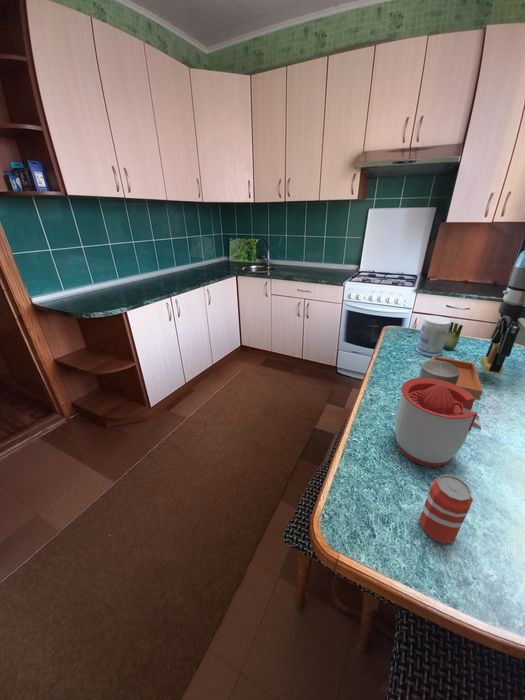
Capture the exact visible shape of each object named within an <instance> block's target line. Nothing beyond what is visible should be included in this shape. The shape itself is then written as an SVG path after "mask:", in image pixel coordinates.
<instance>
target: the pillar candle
mask: <svg viewBox="0 0 525 700" xmlns="http://www.w3.org/2000/svg"><path fill="white" fill-rule="evenodd" d="M459 374H460V371H459V369H458V368H457V367H456V366H454V365H452V364H450V363H447V362H444V361H439V360H432V359H428V360H424V361H423V362H422V363H421V368H420V372H419V376H418V378H433V379H439V380H443V381H446V382H449V383H452V384H454V385H456V383H457V380H458V377H459Z"/></svg>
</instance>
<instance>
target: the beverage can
mask: <svg viewBox="0 0 525 700" xmlns="http://www.w3.org/2000/svg"><path fill="white" fill-rule="evenodd" d="M472 493H473V492H472V490H471V488H470V487H469V485H468V484H467V482H464V481H463V480H462V479H461V478H459V477H457V476H454V475H451V474H443V475H439V477H438V478H435V479H434V480H433V482H432V484H431V486H430V488H429V491H428V494H427V497H426V498H425V502H424V505H423V508H422V511H421V512H420V516H419V519H418V520H419V523H420V527H421V530H422V531H424V533H426V535H428V537H430V539H432V540H434V541H437V542H439V543H441V544H449V543H454V542H455V540H456V538H457V535H458V534H459V532H460V530H461V527H462V525H463V524H464V522H465V519H466V517H467V515H468V513H469V511H470V508H471V506H472V503H473V497H472Z"/></svg>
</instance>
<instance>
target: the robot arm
mask: <svg viewBox="0 0 525 700" xmlns="http://www.w3.org/2000/svg"><path fill="white" fill-rule="evenodd" d="M502 294H503V297H502V301H501V302H500V305H499V307H498V310H497V311H498V314H499V318H498V320H497V322H496V324H495V326H494V329H493V331H492V334H491V335H490V339H491V340H490V345H489V347H488V350H487V352H486V355H485V357H488V355H489V353H490V350H491V348H492V345H493V343H496V344H499V348H498V352H497V353H494V354H495V356H494V359H493V361H492V364H491V366H490V369H489V371H492V372H497V373H499V372H500V370H501V367H502V366H503V365H504V363H505V360H506V358H510V356H511V353H512V351H513V348H514V344H515V341H516V339H517V335H518V334H519V331H520V330H521V327H520V326H519V325H520V324H519V323H520V322H519V319H524V318H525V250H523V251H522V252H520V254H519V256H518V257H517V259H516V262H515V264H514V266H513V270H512V273H511V276H510V278H509V281H508V284H507V287H506V289H505V290H503V291H502Z"/></svg>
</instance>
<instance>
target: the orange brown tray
mask: <svg viewBox="0 0 525 700" xmlns="http://www.w3.org/2000/svg"><path fill="white" fill-rule="evenodd" d="M431 360H439V361H444V362H447V363H450V364H452V365H454V366H456V367H457V368H458V369H459V371H460V374H459V377H458V380H457V383H456V385H457V386H459V387H461V388H463V389H464V390H466V391H467V392H469V393H470V394H471V395H472V396H473V397H474V398H475V400H481V397H482V395H483V388H482V383H481V380H480V377H479V374H478V371H477V367H476V364H475V362H469V361H464V360H458V359H452V358H447V357H442V356H431Z"/></svg>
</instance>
